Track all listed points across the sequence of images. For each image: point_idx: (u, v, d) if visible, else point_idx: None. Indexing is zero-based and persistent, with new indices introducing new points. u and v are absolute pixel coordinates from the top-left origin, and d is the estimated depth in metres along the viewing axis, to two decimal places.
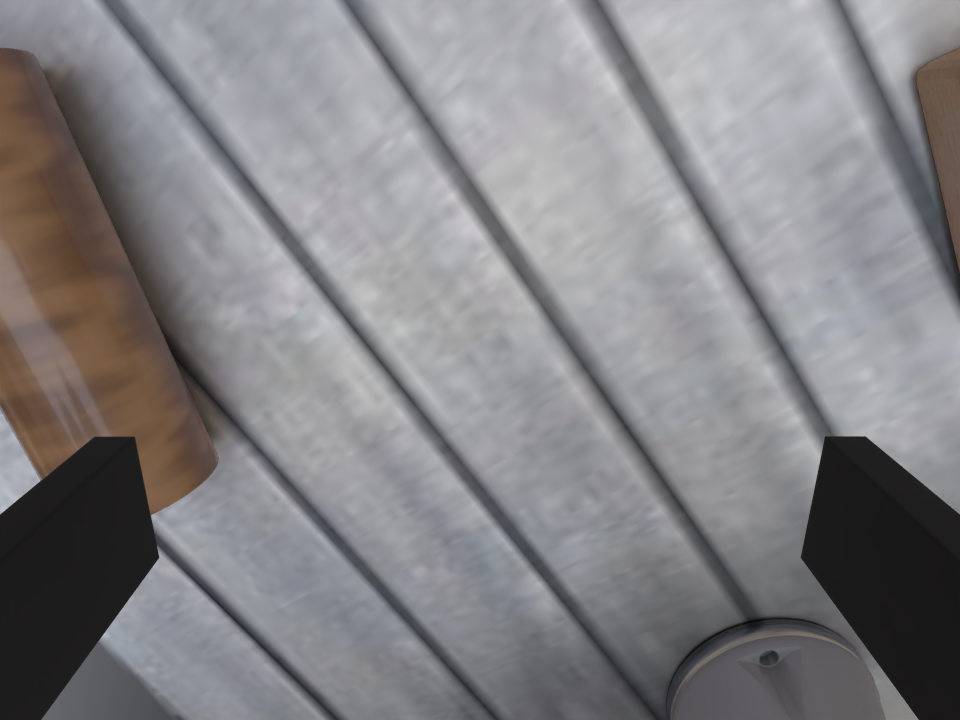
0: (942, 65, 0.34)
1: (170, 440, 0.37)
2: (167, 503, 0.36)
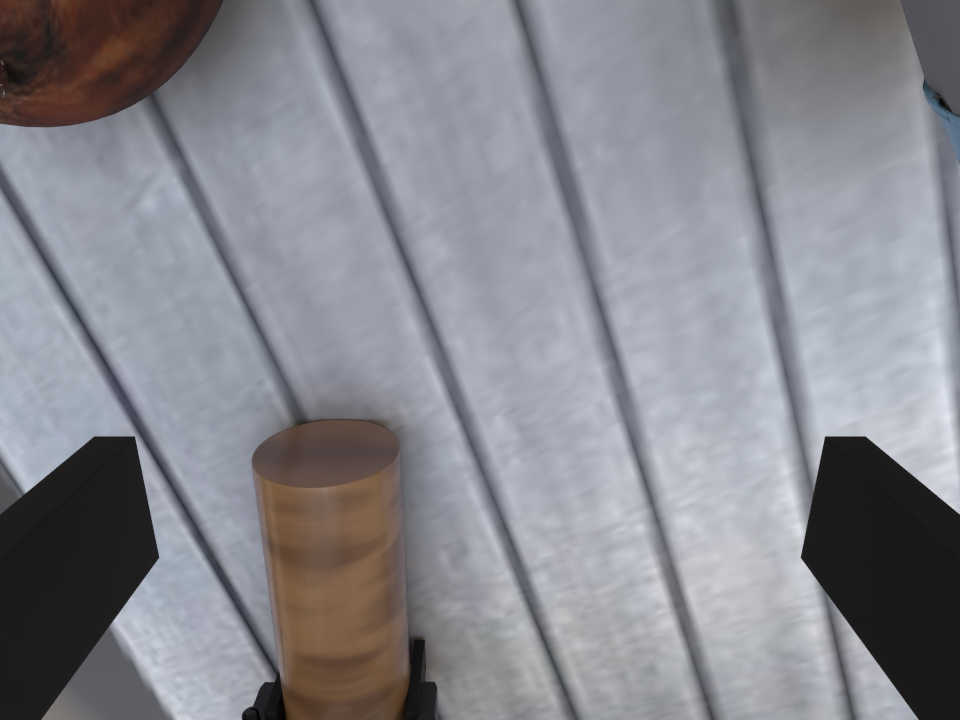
0: None
1: None
2: None
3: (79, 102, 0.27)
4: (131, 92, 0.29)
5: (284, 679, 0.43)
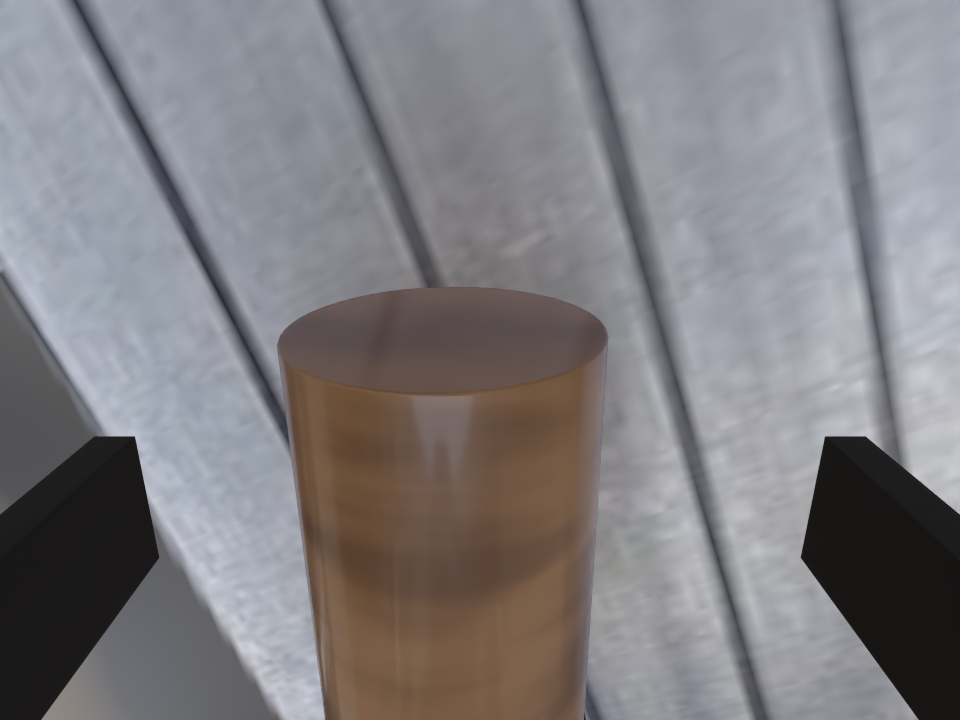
0: None
1: None
2: None
3: None
4: None
5: None
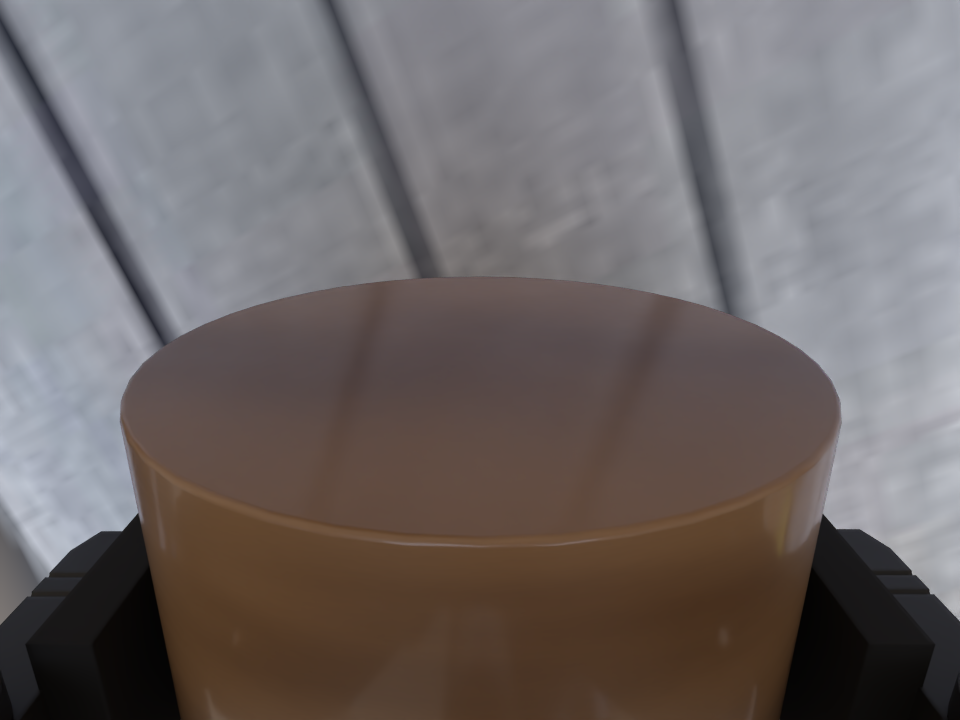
0: None
1: None
2: None
3: None
4: None
5: None
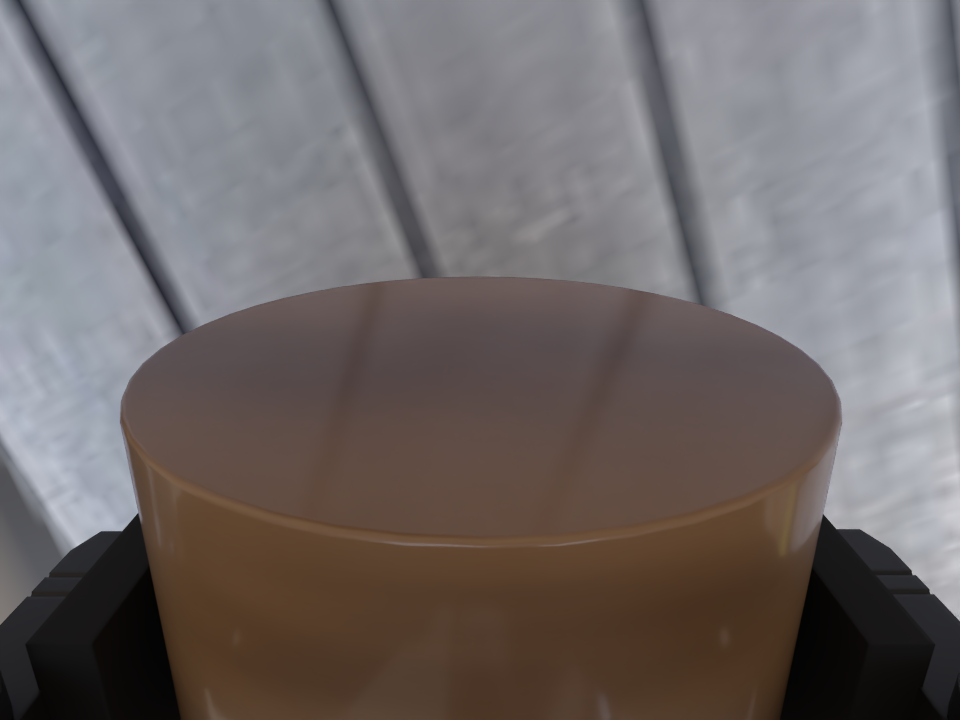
0: None
1: None
2: None
3: None
4: None
5: None
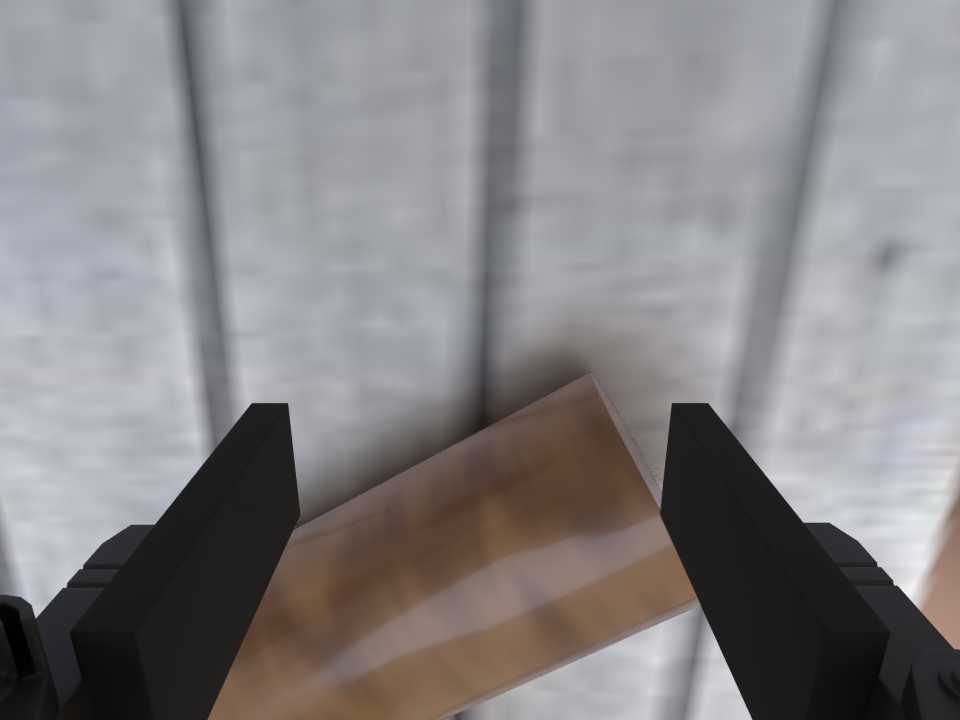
0: None
1: None
2: None
3: None
4: None
5: None
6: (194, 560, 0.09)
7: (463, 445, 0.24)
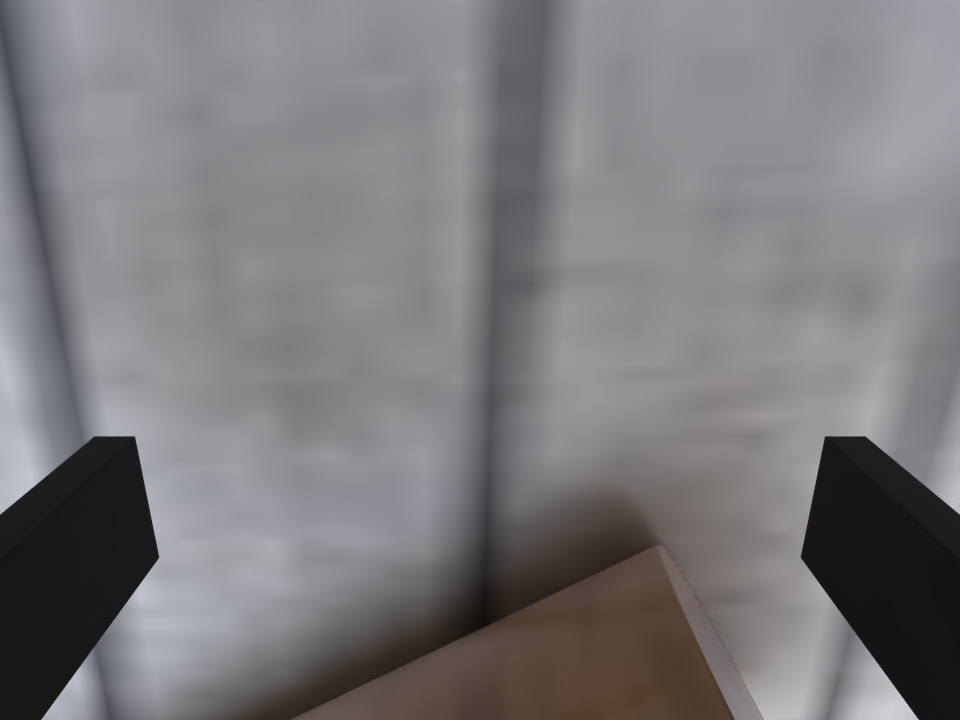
0: None
1: None
2: None
3: None
4: None
5: None
6: None
7: (454, 673, 0.15)
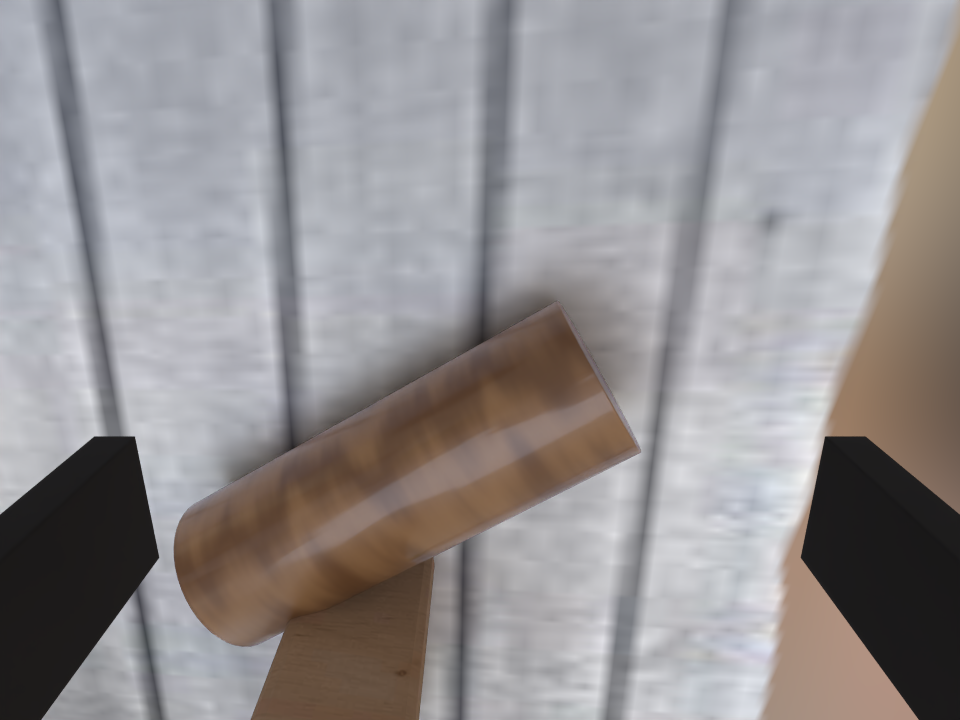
0: None
1: None
2: None
3: None
4: None
5: (335, 550, 0.32)
6: None
7: (468, 351, 0.34)
